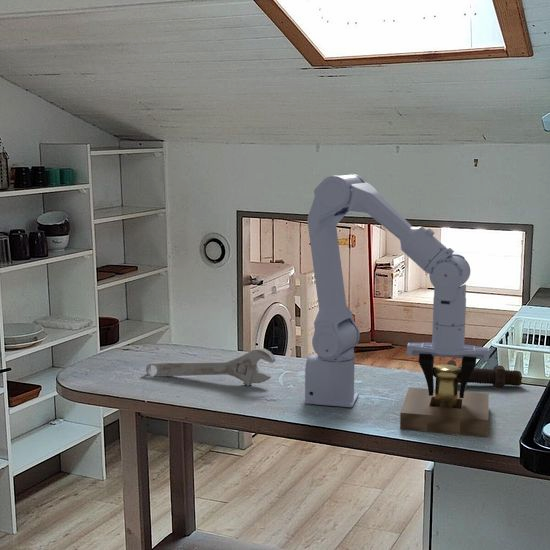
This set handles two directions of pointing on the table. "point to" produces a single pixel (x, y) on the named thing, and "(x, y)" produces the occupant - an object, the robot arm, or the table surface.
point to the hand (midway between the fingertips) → (446, 395)
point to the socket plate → (445, 413)
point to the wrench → (219, 367)
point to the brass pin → (446, 385)
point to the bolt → (493, 376)
